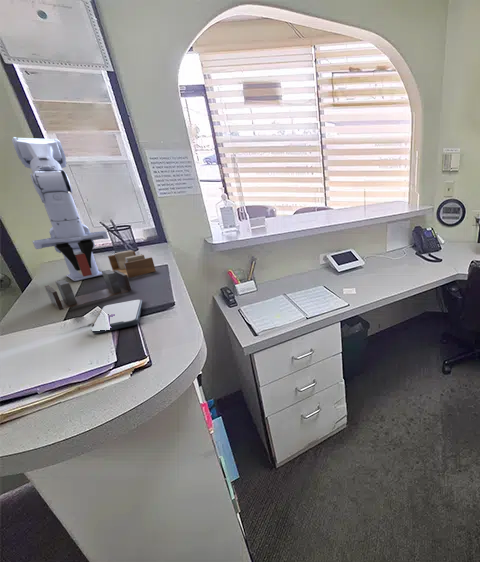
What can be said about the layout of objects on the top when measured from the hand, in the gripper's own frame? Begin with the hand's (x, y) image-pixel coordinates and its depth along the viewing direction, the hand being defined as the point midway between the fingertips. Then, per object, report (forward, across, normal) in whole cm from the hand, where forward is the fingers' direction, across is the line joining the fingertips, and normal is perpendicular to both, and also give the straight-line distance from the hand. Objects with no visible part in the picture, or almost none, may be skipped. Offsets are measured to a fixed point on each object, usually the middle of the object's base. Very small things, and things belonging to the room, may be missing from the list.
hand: (83, 268), depth 86 cm
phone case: (+10, 0, -20) cm, 22 cm away
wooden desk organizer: (+9, +16, +18) cm, 26 cm away
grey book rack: (+9, 0, 0) cm, 9 cm away
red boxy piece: (+2, 0, 0) cm, 2 cm away
